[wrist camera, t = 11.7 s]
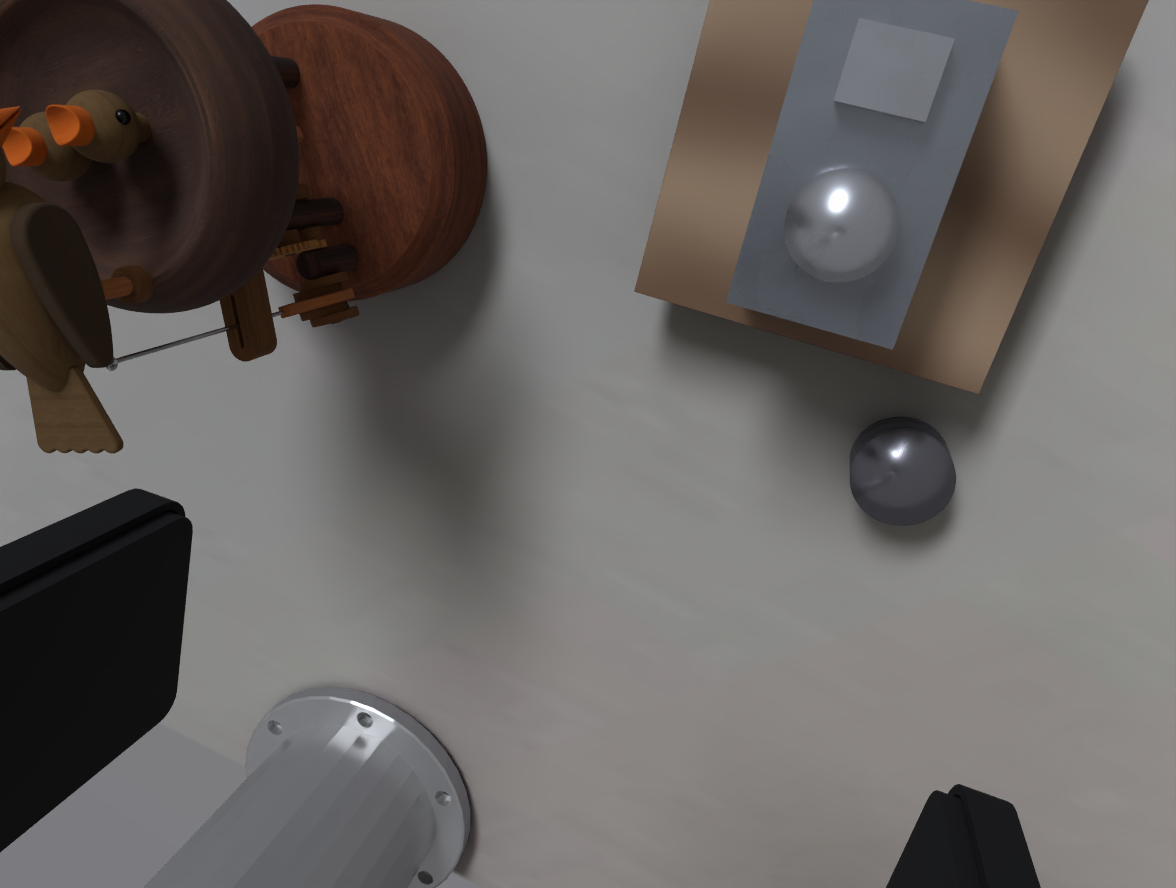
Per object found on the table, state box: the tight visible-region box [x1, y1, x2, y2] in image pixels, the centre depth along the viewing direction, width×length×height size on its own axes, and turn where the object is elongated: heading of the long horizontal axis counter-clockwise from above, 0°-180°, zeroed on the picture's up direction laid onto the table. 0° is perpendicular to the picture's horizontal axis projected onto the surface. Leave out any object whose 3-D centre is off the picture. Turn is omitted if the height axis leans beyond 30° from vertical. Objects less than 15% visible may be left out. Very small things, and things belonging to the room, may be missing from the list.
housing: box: [726, 0, 1019, 350], centre depth 25 cm, size 5×9×5 cm, turn 167°
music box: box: [0, 0, 487, 453], centre depth 27 cm, size 15×11×20 cm
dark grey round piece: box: [850, 417, 956, 526], centre depth 32 cm, size 4×4×2 cm
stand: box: [634, 0, 1149, 394], centre depth 29 cm, size 12×12×3 cm
